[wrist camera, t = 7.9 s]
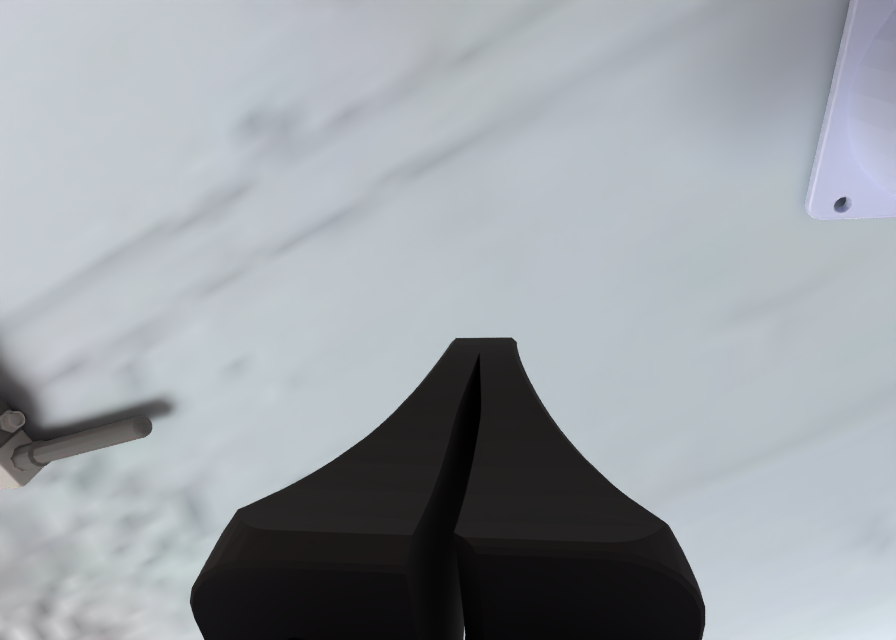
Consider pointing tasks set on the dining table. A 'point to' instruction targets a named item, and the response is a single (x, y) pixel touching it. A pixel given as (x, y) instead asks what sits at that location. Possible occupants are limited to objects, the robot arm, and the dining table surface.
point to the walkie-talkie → (54, 445)
